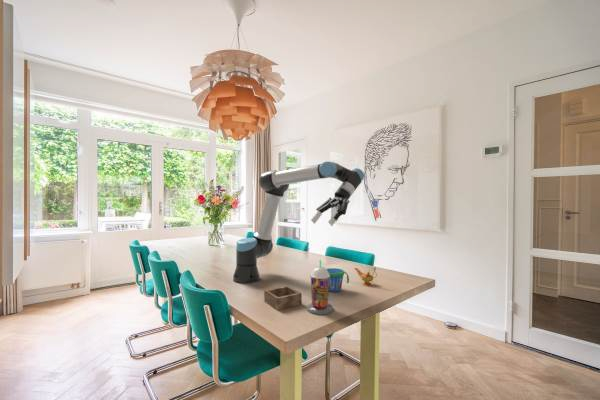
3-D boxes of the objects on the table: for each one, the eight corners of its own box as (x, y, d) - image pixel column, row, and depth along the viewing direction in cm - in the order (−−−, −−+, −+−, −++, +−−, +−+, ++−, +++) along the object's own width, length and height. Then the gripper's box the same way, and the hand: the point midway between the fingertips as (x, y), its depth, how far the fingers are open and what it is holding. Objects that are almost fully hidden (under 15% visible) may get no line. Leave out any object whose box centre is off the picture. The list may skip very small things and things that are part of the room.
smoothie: (316, 312, 114) (317, 263, 114) (306, 305, 121) (307, 259, 121) (333, 308, 118) (333, 261, 118) (322, 302, 125) (323, 257, 125)
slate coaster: (306, 314, 114) (306, 311, 114) (307, 304, 125) (307, 301, 125) (333, 315, 113) (333, 312, 113) (332, 305, 124) (332, 302, 124)
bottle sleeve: (277, 310, 118) (277, 298, 118) (264, 301, 128) (264, 290, 128) (301, 304, 125) (301, 293, 125) (287, 296, 135) (287, 285, 135)
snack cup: (319, 293, 140) (319, 273, 140) (318, 286, 150) (318, 267, 150) (350, 293, 139) (350, 273, 139) (347, 287, 150) (347, 268, 150)
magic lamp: (359, 278, 166) (359, 260, 166) (381, 287, 150) (381, 266, 150) (349, 280, 163) (350, 261, 163) (371, 289, 147) (371, 268, 147)
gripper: (366, 197, 135) (342, 230, 127) (332, 197, 156) (310, 225, 148) (358, 186, 132) (333, 219, 124) (325, 187, 153) (302, 216, 145)
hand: (321, 222), depth 136 cm, fingers open, 13 cm apart
